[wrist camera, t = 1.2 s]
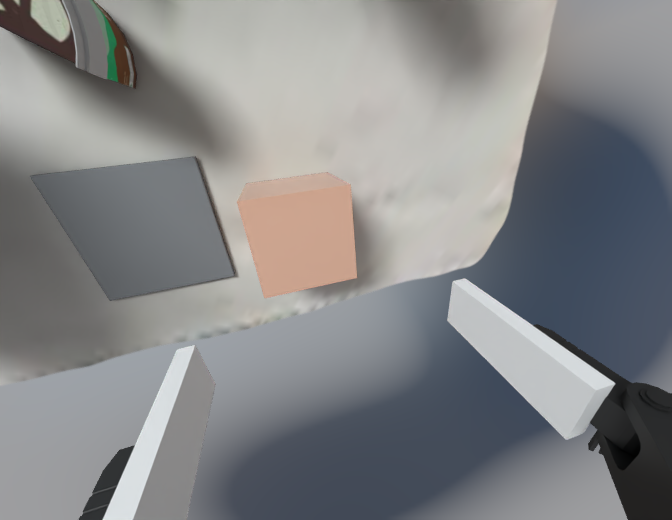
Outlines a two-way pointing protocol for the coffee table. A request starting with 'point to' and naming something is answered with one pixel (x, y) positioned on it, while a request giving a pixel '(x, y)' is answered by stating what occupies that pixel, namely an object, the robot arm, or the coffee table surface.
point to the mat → (140, 224)
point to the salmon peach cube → (299, 232)
